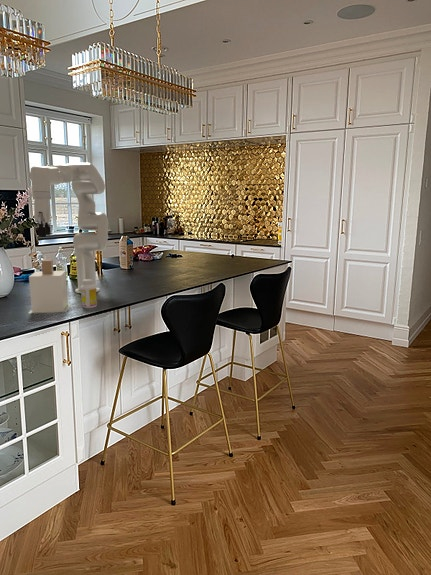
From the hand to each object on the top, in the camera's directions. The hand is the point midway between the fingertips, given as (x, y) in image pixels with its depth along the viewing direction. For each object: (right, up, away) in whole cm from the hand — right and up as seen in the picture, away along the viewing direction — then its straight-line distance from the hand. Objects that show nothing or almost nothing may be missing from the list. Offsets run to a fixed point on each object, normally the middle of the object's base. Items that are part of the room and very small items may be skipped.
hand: (44, 235), depth 193 cm
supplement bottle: (+17, -32, +11) cm, 38 cm away
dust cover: (0, -32, +7) cm, 33 cm away
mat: (0, -33, +7) cm, 33 cm away
